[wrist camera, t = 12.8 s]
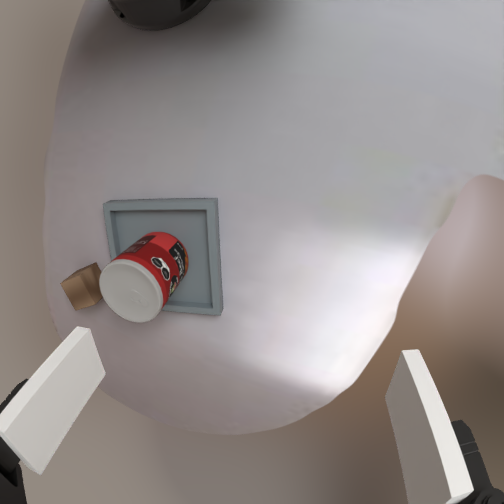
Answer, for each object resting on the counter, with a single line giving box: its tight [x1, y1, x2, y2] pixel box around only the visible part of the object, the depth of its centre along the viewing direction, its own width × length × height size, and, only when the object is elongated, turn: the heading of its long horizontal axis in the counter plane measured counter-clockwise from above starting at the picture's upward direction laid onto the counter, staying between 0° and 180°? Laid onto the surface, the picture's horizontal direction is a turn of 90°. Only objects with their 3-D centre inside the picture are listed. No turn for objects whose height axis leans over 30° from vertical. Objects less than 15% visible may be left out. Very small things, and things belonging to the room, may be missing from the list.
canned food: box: [99, 232, 189, 323], centre depth 37 cm, size 8×8×11 cm
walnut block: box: [60, 263, 103, 310], centre depth 44 cm, size 5×5×5 cm
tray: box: [103, 198, 223, 315], centre depth 41 cm, size 16×16×2 cm
